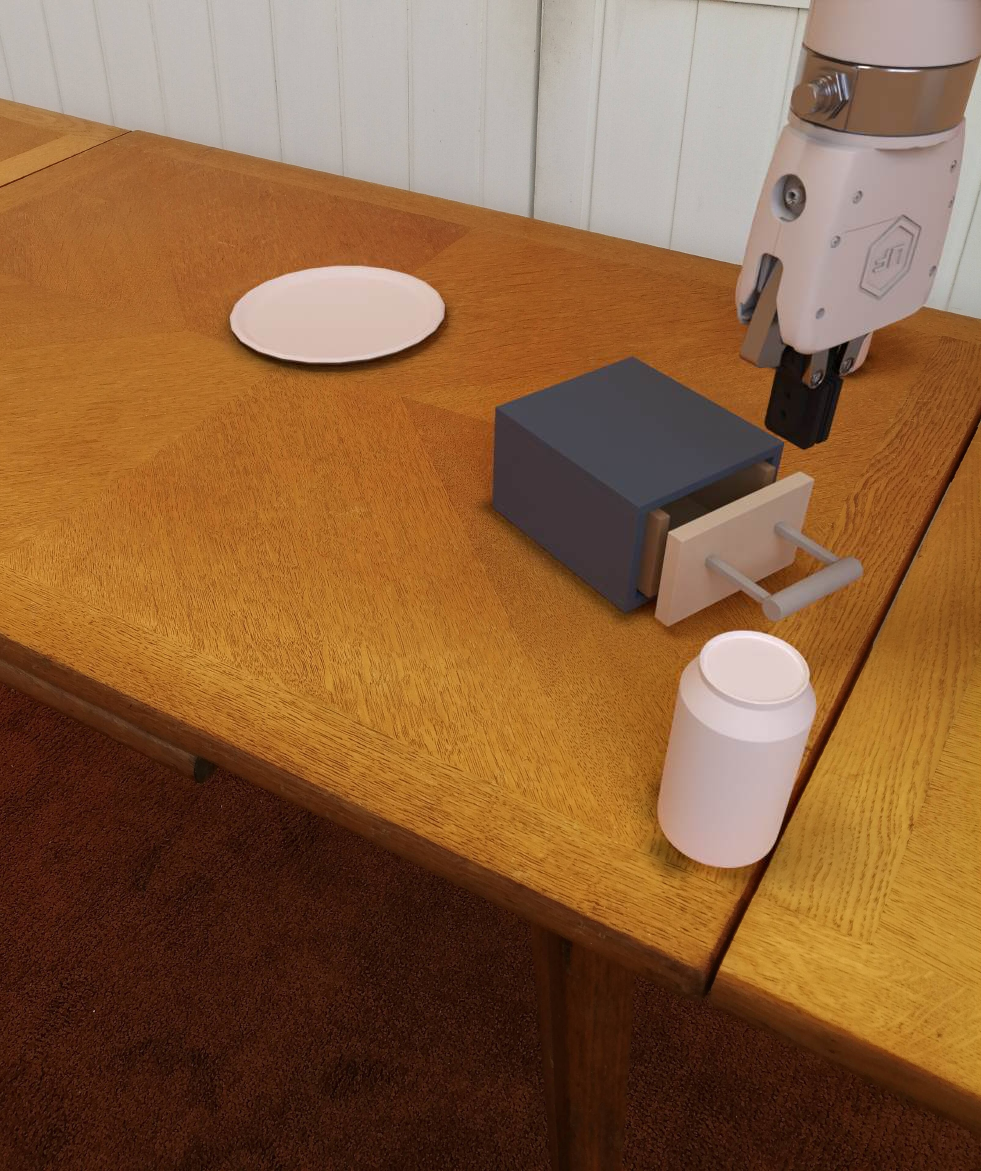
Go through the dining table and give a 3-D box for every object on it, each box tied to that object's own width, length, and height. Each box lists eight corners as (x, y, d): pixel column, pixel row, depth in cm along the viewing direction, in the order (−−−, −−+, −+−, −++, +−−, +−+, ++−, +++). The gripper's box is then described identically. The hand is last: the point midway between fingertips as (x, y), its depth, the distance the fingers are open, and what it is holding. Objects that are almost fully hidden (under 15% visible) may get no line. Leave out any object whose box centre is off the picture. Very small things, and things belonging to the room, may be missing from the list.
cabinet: (761, 546, 76) (785, 441, 70) (624, 614, 71) (639, 507, 65) (621, 454, 86) (632, 355, 80) (491, 507, 81) (494, 406, 75)
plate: (371, 259, 116) (371, 247, 116) (488, 329, 103) (489, 317, 102) (195, 311, 108) (193, 299, 107) (297, 396, 94) (295, 383, 93)
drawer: (870, 613, 69) (898, 527, 64) (741, 685, 64) (762, 597, 60) (654, 471, 82) (665, 392, 78) (534, 523, 77) (539, 442, 73)
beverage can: (742, 774, 60) (784, 611, 53) (797, 864, 56) (851, 700, 48) (636, 795, 59) (663, 632, 52) (683, 889, 55) (720, 725, 47)
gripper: (833, 144, 44) (749, 511, 56) (1055, 80, 50) (937, 424, 62) (699, 100, 49) (649, 446, 61) (916, 46, 55) (831, 371, 66)
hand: (794, 434), depth 61 cm, fingers closed
